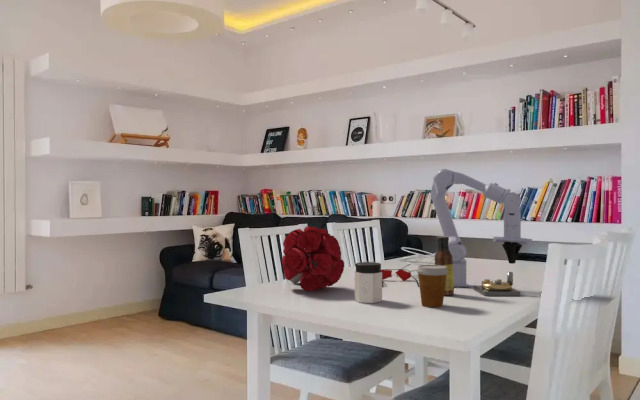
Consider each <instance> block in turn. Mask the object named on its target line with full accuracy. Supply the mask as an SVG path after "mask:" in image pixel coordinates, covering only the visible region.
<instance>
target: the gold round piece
mask: <svg viewBox="0 0 640 400" xmlns="http://www.w3.org/2000/svg"><path fill="white" fill-rule="evenodd" d="M506 274H507V275H506V277H507V278H506V279H507V280H506V282H505V281H502V280H503V279H500V278H499V279H496V280H491V279H484V280H481V286H482V288H484V289H488V290H499V291H504V290H511V289H512V288H513V285H514V272H513V271H507V272H506Z"/></svg>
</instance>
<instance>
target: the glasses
mask: <svg viewBox="0 0 640 400" xmlns="http://www.w3.org/2000/svg"><path fill="white" fill-rule="evenodd" d="M393 271H395V272H394V274H395V276H396V278H398V277H399V278H400V279H401V280H402V281H407V280H409V279H410V278H413V280H414V281H416V284H417V287H418V288H420V286H419V280H418V279H417V278H415V277H414V276H413V275H412V273H411V271H410V270H408V269H405V268H404V269H401V268H397V269H395V268H393V269H391V268H389V269H387V268H386V269H385V268H384V269H381V272H382V288H384V280H385V279H389V278H392V277H393V275H392V274H393Z"/></svg>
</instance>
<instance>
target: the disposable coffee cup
mask: <svg viewBox="0 0 640 400" xmlns="http://www.w3.org/2000/svg"><path fill="white" fill-rule="evenodd" d="M415 271H416V273H417V277H418V283H419V292H420V293H419V294H420V300H421V306H422V307H426V308H441V307H443V304H444V297H445V295H444V291H445V283H446V275H447V272H448V271H447V267H446V266H441V265H435V264H420V265H418V266H417V269H416V270H415Z"/></svg>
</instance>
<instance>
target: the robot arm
mask: <svg viewBox="0 0 640 400" xmlns="http://www.w3.org/2000/svg"><path fill="white" fill-rule="evenodd" d="M432 179H433V182H432V186H431V189H430V198H431V201H432V204H433V207H434V210H435V212H436V213H435V214H436V216H437V218H438V222H439V225H440V228H441V231H442V233H443V236H448V237H449V241H448V245H449V251H450V253H451V255H452V260H453V276H454V288H455V287H459V288H460V287H462V288H466V287H468V288H469V287H470V286H471V285H469V284H468V283H467V260H466V258H465V257H466V256H467V254H468V250H467V248H466V246H465V244H463V243H462V240H461V238H460V236H459V234H458V232H457V229H456V226H455V225H456V224H455V223H454V220H453V216H452V214H451V211H450V208H449V206H448V202H447V199H446V197H445V196H446V194H447V193H448V191H449V189H450V188H451V187H452V186H453V185H465V186H467V187H469V188H472V189H475V190H477V191H479V192H482V194H483V196H484V198H486V199H488V200H491V201H493V202H495V203H497V204H499V205H501V204H503V207H504V213H503V236H493V237H492V238H493V239H492V241H493V243H502V244H501V246H502V248H503V249H504V251H505V254H506V257H507V261H508V263H509V264H512V265H513V264H516V262H517V257H518V255H519V252H520V250H521V248H522V247H523V245H528V246H531V245H533V239H532V238H525V237H524V238H523V237H521V234H522V233H521V232H522V231H521V224H522V223H521V222H522V221H521V219H522V215H521V214H522V213H521V204H522V199H521V196H520V195H519V194H518V193H516V192H515V191H514V192H513V191H511V189H510V188H507V189H506V188H504V187H502V186H500V185H499V183H497V182H494V183H493V182H489V183H487V184H485V183H483V182H481V181H480V180H478V179H475V178H473V177H471V176H469V175H467V174H464V173H462V172H459V171H458V172H457V171H454V170H450V169H447V168H441V169H439V170H438V171H437V172H436V174H435V175H434V176H433V178H432Z"/></svg>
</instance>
